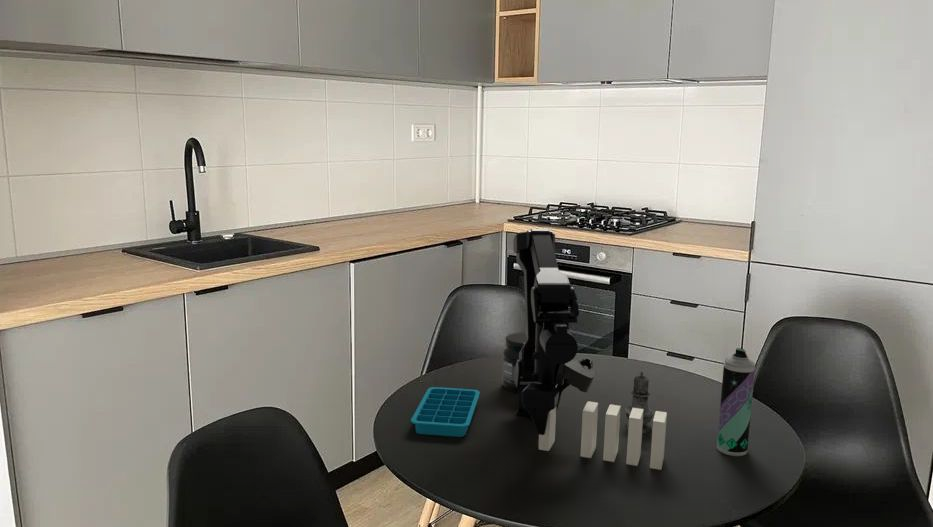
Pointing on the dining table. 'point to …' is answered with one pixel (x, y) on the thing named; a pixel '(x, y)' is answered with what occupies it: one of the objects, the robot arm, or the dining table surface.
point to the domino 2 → (589, 429)
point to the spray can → (736, 404)
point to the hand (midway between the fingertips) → (547, 425)
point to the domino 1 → (548, 432)
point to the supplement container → (511, 359)
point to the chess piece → (641, 401)
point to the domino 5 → (658, 440)
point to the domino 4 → (634, 436)
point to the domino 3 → (611, 433)
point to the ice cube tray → (445, 411)
